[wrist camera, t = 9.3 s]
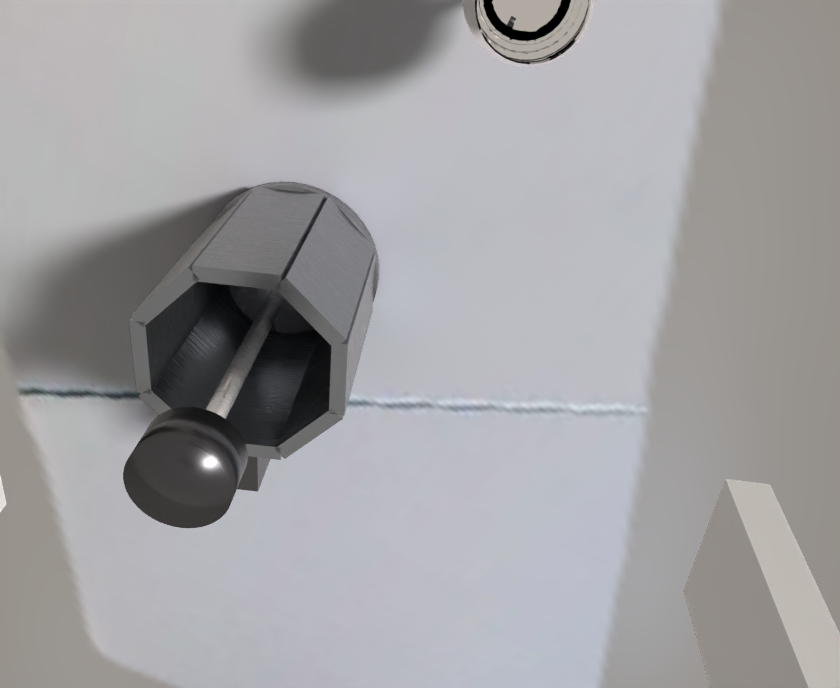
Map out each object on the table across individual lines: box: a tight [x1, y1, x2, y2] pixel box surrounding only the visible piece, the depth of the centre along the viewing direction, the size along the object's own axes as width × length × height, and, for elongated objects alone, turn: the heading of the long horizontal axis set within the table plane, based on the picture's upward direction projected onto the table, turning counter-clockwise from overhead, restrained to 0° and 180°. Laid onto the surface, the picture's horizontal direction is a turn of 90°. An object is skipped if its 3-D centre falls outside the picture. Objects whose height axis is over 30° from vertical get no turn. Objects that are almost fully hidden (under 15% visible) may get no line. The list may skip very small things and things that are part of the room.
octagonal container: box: [129, 182, 379, 491], centre depth 46 cm, size 14×11×13 cm
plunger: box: [123, 285, 314, 528], centre depth 41 cm, size 7×7×21 cm
